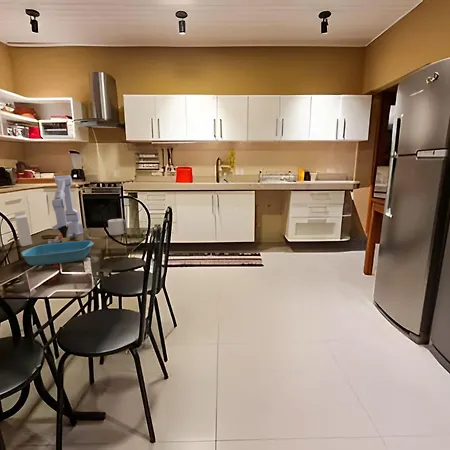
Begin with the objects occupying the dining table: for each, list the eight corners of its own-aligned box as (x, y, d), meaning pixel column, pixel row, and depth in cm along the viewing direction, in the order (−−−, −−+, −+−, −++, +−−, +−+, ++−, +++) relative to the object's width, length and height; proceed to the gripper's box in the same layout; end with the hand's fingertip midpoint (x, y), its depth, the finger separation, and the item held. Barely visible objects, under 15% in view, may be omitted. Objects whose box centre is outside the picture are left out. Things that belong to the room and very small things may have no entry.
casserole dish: (15, 269, 162) (12, 256, 160) (33, 256, 183) (30, 244, 181) (90, 261, 168) (88, 249, 166) (99, 250, 189) (97, 238, 188)
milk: (32, 244, 209) (26, 212, 204) (21, 246, 205) (15, 213, 200) (30, 242, 213) (24, 211, 209) (20, 244, 210) (13, 212, 205)
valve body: (72, 237, 223) (71, 232, 222) (78, 237, 221) (77, 232, 220) (47, 245, 205) (46, 239, 205) (52, 245, 203) (51, 240, 202)
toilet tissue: (109, 232, 231) (108, 219, 229) (126, 230, 234) (125, 217, 232) (109, 236, 221) (107, 222, 219) (126, 234, 224) (125, 220, 222)
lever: (60, 235, 213) (59, 231, 212) (64, 234, 214) (64, 230, 213) (57, 239, 202) (56, 235, 201) (62, 239, 203) (61, 234, 202)
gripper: (64, 214, 210) (67, 234, 213) (47, 219, 196) (50, 240, 200) (73, 215, 208) (76, 234, 211) (56, 219, 194) (59, 240, 198)
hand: (64, 237), depth 205 cm, fingers closed, pressing on lever
